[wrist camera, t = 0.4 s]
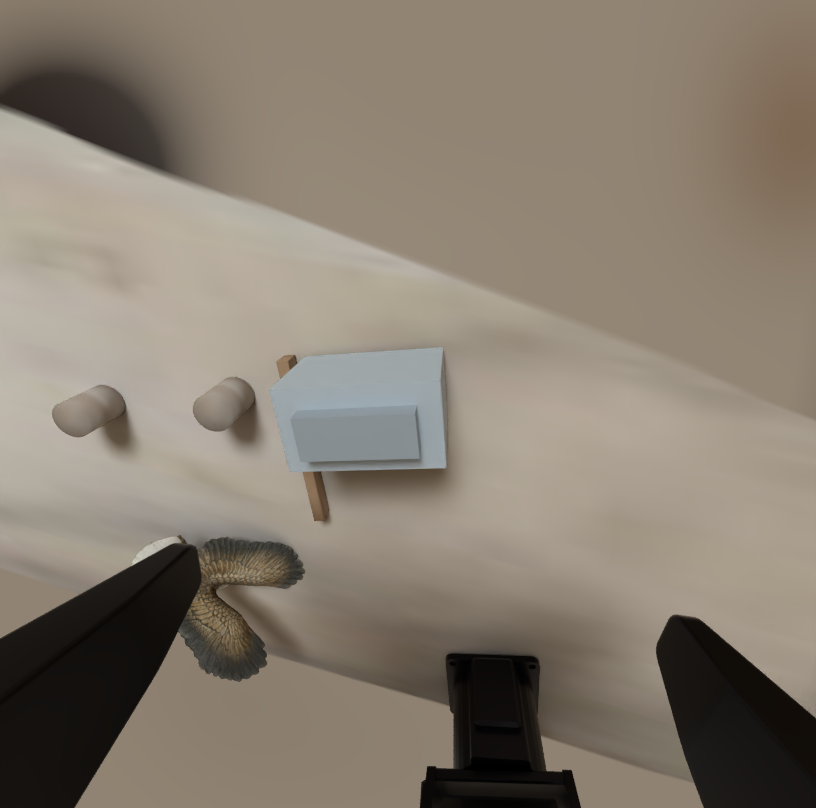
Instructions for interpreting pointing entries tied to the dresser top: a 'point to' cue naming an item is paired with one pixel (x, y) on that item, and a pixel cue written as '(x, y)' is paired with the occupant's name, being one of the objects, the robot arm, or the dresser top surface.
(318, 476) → the pin seat fixture
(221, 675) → the eagle figurine
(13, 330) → the dresser top surface
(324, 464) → the block
